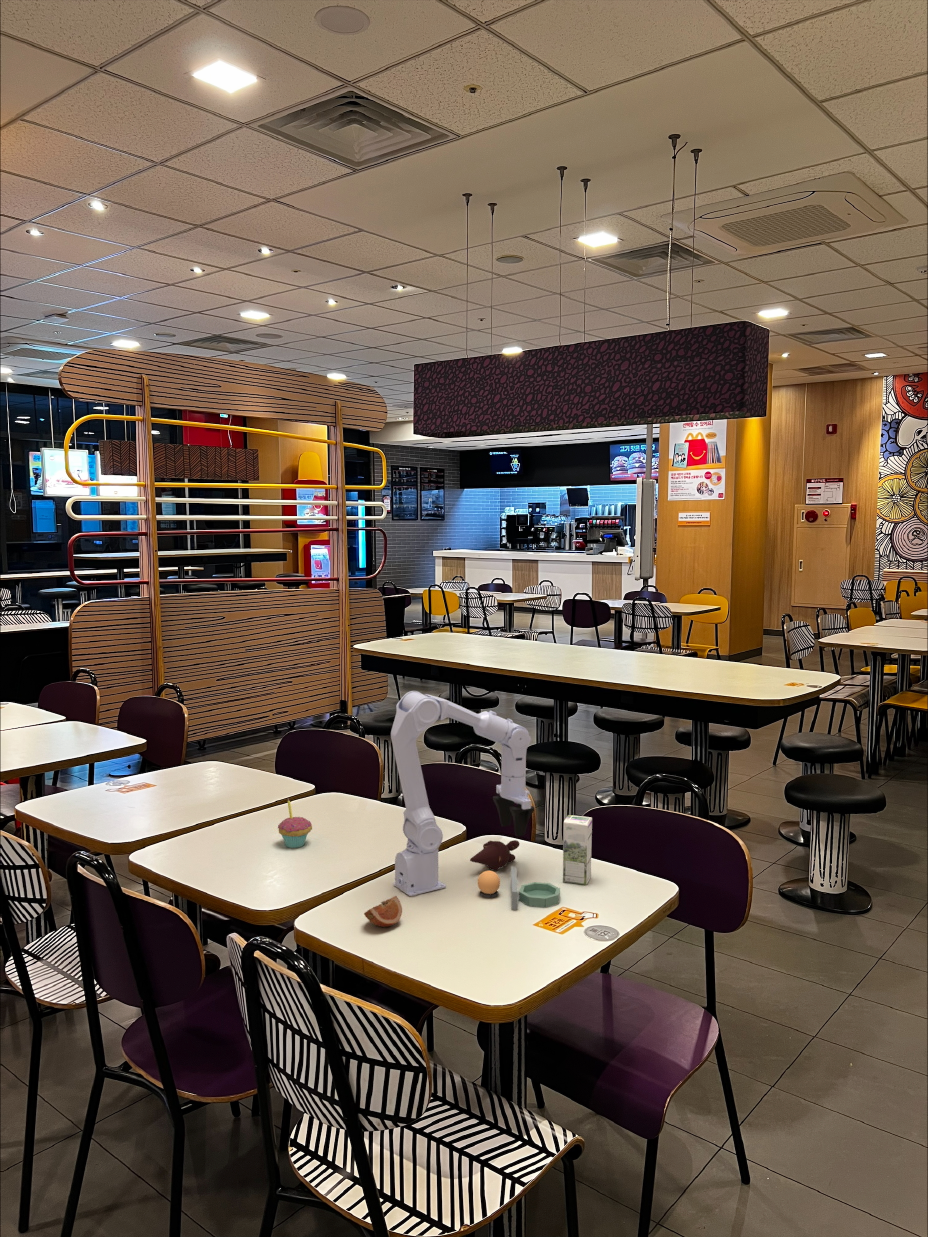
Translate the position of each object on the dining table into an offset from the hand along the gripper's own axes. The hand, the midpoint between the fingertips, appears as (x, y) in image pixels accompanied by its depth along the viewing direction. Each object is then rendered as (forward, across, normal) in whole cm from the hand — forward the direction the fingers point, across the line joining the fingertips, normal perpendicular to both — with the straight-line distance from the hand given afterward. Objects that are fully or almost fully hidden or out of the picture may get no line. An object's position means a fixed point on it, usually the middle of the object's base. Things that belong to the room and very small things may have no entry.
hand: (512, 830), depth 208 cm
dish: (+10, -17, +2) cm, 20 cm away
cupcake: (+10, +38, +44) cm, 58 cm away
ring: (+10, -11, +11) cm, 18 cm away
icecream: (+10, +3, +3) cm, 11 cm away
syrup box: (+10, -11, -11) cm, 19 cm away
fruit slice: (+10, -16, +37) cm, 42 cm away
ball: (+7, -11, +11) cm, 17 cm away
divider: (+10, -14, +6) cm, 18 cm away
